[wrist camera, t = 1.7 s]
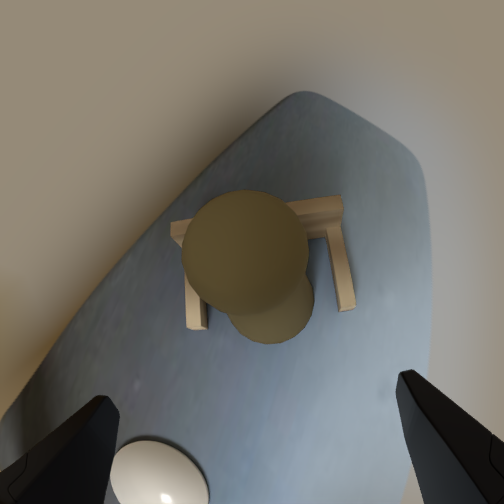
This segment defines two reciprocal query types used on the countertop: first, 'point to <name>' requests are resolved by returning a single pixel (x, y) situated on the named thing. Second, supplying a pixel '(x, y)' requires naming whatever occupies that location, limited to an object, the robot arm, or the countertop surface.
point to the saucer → (156, 475)
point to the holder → (316, 226)
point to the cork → (251, 264)
